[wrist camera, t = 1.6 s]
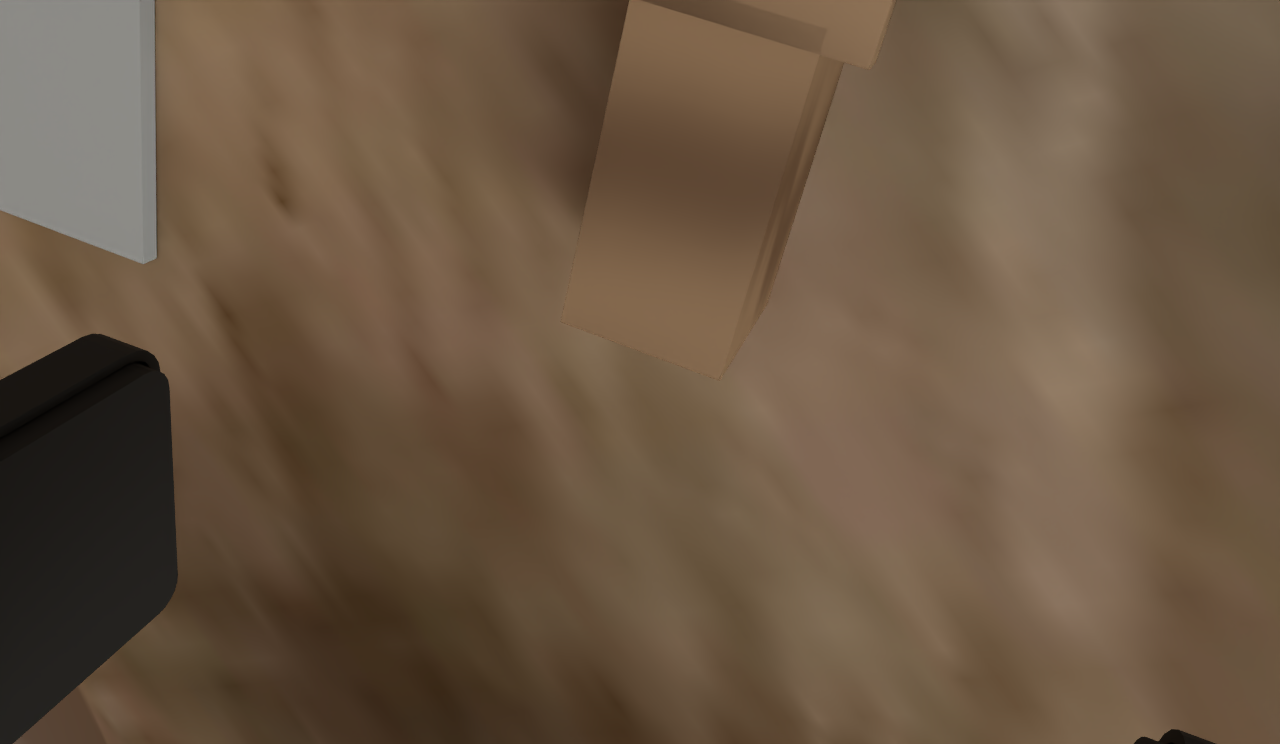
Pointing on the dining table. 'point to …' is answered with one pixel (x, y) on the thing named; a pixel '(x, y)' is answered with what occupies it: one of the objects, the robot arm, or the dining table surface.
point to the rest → (80, 120)
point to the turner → (707, 167)
